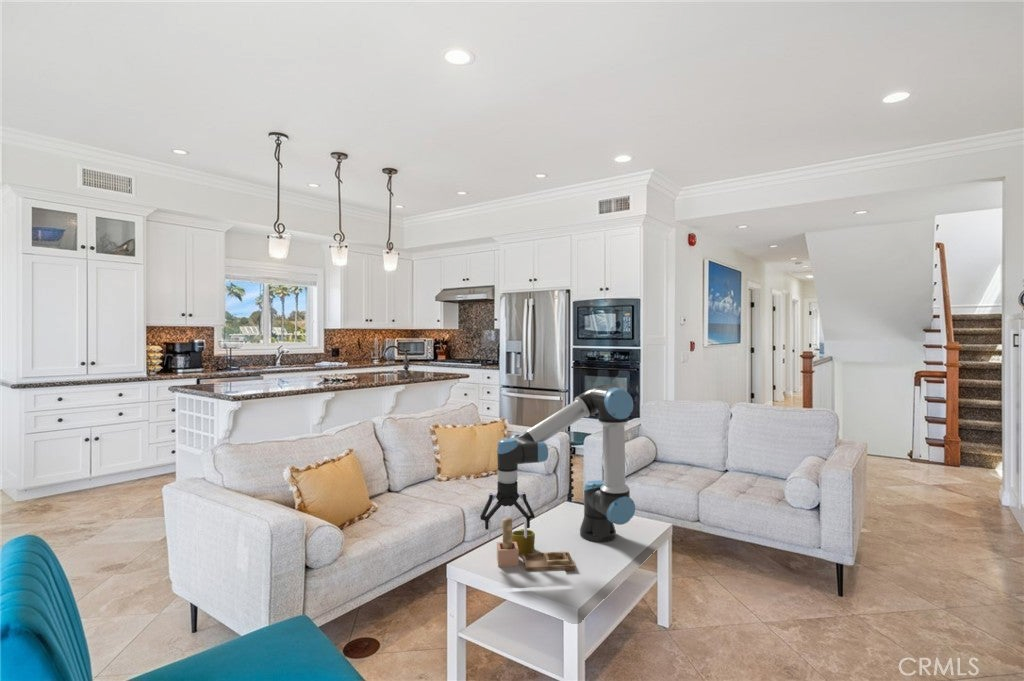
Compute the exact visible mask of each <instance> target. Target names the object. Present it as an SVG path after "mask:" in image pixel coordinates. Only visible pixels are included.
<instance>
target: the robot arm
mask: <svg viewBox="0 0 1024 681" xmlns="http://www.w3.org/2000/svg"><path fill="white" fill-rule="evenodd" d="M633 410H634V400H633V397H632V396H631V394H630V393H629V392H628V391H626V390H625V389H623V388H621V387H616V386H615V387H614V386H608V385H602V384H601V385H596V386H594V387H591V388H589V389H587V390H586V391H584V392H582V393H580V394H579V395H577V396H575V397H574V401H573V402H570V403H569V404H568V405H566V406H564V407H562V408H561V409H560V410H558V411H556V412H555V413H553V414H551V415H550V416H549V417H547V418H545V419H544V420H542V421H540V422H538V423H537V424H535V425H534V426H532V427H530V428H529V429H527V430H526V431H524V432H522V433H521V434H513V435H511V436H510V437H509V438H508V437H504V438H501V439H499V440H498V442H497V449H496V453H497V456H496V457H497V478H496V479H497V482H496V483H497V491H496V492H497V493H496V494H494V493H491V492H490V493H489V494H488V499H487V501H486V504H485V505H484V508H483V510H482V511H481V513H480V518H479V519H480V520H481V521H484V530H486V531H487V538H488V539H487V540H491V537H492V536H491V522H492V521H491V518H492V517H493V516H494V515H495V514H496V513H497V511H498V510H499V509H500V508H501V507H513V506H514V507H516V509H517V510H518V511H519V513H520V514H522V516H523V529H524V536H525V538H527V530H528V529H530V527H531V519H535V518H536V516H535V513H534V512H533V510H532V508H531V506H530V504H529V502H528V500H527V494H526V492H525V491H523V492H522V493H518V487H519V486H518V483H519V482H518V478H519V476H518V475H519V474H518V472H519V471H518V468H519V467H518V465H521V464H522V465H523V464H534V463H538V464H539V463H544V462H546V461H547V460H548V458H549V447H548V445H547V443H545V442H546V441H547V440H549V439H551V438H552V437H554V436H555V435H558V434H559V433H560V432H562V431H564V430H565V429H567V428H568V427H570V426H571V425H573V424H575V423H576V422H578V421H579V420H582V418H589V417H590V416H592V415H595V414H598V422H599V423H600V424H601V425H602V445H603V446H602V450H603V456H602V458H603V479H602V480H601V479H599V480H597V479H595V480H590V481H586V482H585V483H584V486H583V487H584V488H583V492H584V493H583V515H584V516H583V518H582V522H581V523H580V524H581V525H580V528H579V534H580V538H581V537H582V538H583V539H585V540H587V541H591V542H598V543H599V542H600V543H602V542H609V541H613V540H615V539H616V536H617V533H616V532H617V531H616V527H615V525H620V526H621V525H626V524H627V523H629V522H630V521H631V519H633V517H634V515H635V513H636V503H635V502H634V500H633V499H632V498H631V497H630V496H631V494H630V487H629V486H628V485H627V484H626V445H625V444H626V439H625V438H626V436H625V426H626V424H627V423H628V422H629V416H631V413H633ZM519 498H520V500H522V501H523V502H524V505H525V506H526V508H527V511H528V512H529V514H528V513H527V511H526V510H525V509H524V508H523V507H522V505H521V504H520V503H519V502H518V499H519ZM495 499H496V500H497V502H496V503H495V505H494V506H493V507H492V508H491V509H490V507H491V505H492V502H493V501H494V500H495ZM489 509H490V511H489ZM488 511H489V512H488Z"/></svg>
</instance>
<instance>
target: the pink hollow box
mask: <svg viewBox="0 0 1024 681" xmlns="http://www.w3.org/2000/svg"><path fill="white" fill-rule="evenodd" d="M519 556H520V555H519V549H518V546H517V542H512V549H503V541H500V542H496V563H497V568H503V567H505V568H507V567H520V566H519V565H520V564H519V562H520V561H519Z"/></svg>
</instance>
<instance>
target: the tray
mask: <svg viewBox="0 0 1024 681" xmlns="http://www.w3.org/2000/svg"><path fill="white" fill-rule="evenodd" d="M521 556H522V557H521V558H522V562H523V565H524V568H525V571H526V572H533V571H534V572H535V571H552V570H557V571H558V570H564V572H565V573H567V572H570V573H571V572H576V563H575V562H574V560H573V558H572V556H571V554H570V552H569V551H544V552H534V553H527V554H522V555H521Z"/></svg>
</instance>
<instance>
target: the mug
mask: <svg viewBox="0 0 1024 681" xmlns="http://www.w3.org/2000/svg"><path fill="white" fill-rule="evenodd" d="M535 536H536V534H535V532H534V531H533V530H530V529H527V538H525V536H524V528H523V529H522V528H521V529H520V530H518V529H517V530H514V531H513V530H512V542H517V546H518V549H519V556H522V554H527V553H535V543H536V542H535V540H536V538H535Z"/></svg>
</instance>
